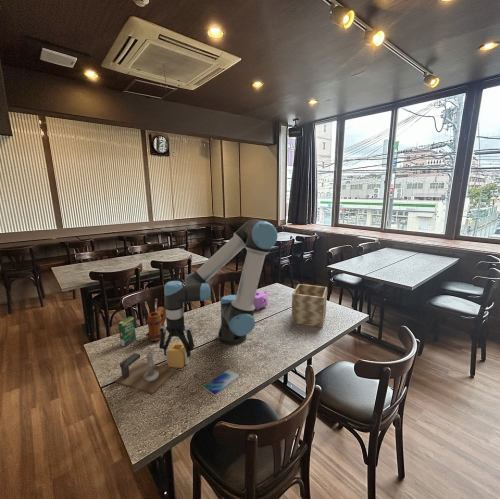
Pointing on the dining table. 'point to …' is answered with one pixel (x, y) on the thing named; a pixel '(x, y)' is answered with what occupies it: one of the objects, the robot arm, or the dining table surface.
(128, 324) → the coffee box
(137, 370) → the base
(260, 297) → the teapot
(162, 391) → the dining table surface
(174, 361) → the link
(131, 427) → the dining table surface
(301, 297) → the planter
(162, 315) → the mug
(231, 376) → the smartphone
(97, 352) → the dining table surface
